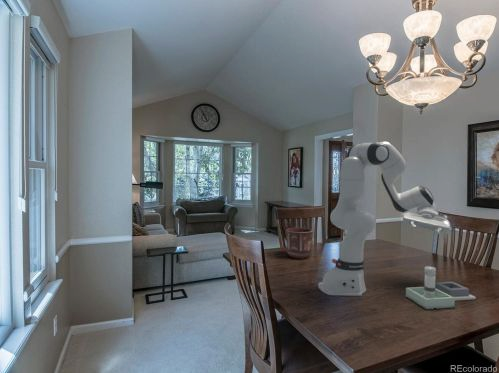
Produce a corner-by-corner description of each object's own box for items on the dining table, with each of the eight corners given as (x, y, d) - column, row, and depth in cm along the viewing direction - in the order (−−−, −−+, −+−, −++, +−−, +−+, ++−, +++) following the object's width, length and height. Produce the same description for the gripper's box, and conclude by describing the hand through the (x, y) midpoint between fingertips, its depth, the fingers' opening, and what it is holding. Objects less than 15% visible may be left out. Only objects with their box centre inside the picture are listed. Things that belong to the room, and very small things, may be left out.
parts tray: (426, 309, 125) (426, 299, 125) (405, 296, 138) (406, 287, 138) (454, 307, 127) (454, 297, 127) (431, 294, 140) (431, 286, 140)
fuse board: (449, 300, 133) (449, 291, 133) (428, 289, 146) (428, 281, 146) (475, 299, 135) (476, 290, 135) (452, 288, 148) (452, 280, 148)
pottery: (309, 252, 213) (309, 227, 212) (315, 260, 195) (315, 232, 195) (284, 253, 212) (284, 227, 212) (288, 260, 195) (288, 232, 194)
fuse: (425, 301, 131) (426, 269, 130) (422, 297, 135) (423, 266, 134) (436, 301, 130) (437, 269, 129) (432, 297, 134) (433, 266, 134)
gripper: (404, 207, 156) (402, 219, 145) (451, 216, 147) (452, 231, 136) (402, 217, 159) (399, 230, 148) (447, 227, 150) (448, 242, 139)
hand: (425, 230), depth 142 cm, fingers open, 8 cm apart
